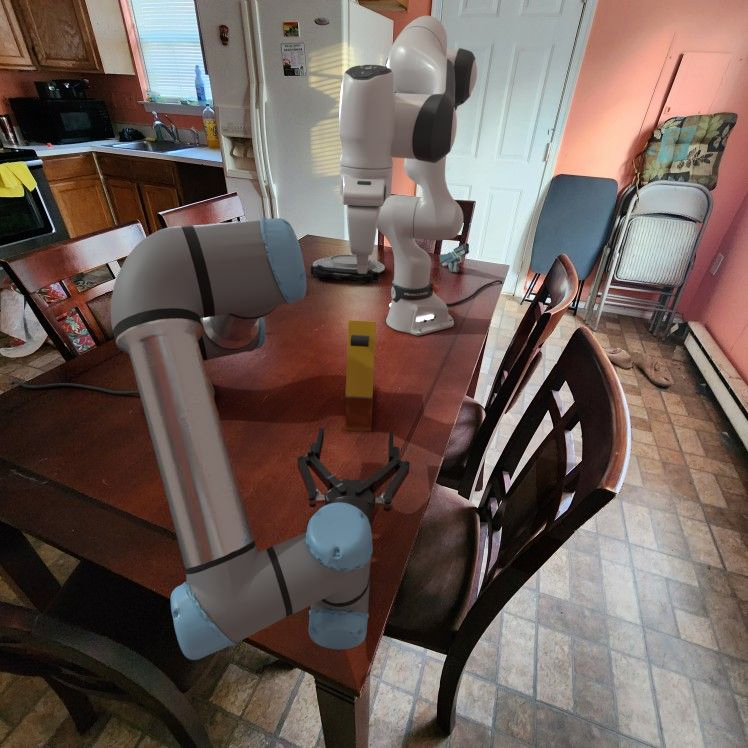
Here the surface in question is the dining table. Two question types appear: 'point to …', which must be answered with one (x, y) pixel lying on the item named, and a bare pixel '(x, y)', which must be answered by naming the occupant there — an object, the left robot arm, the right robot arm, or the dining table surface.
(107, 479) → the dining table surface
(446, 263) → the toy gun
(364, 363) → the lid
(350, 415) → the chest
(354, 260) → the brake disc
